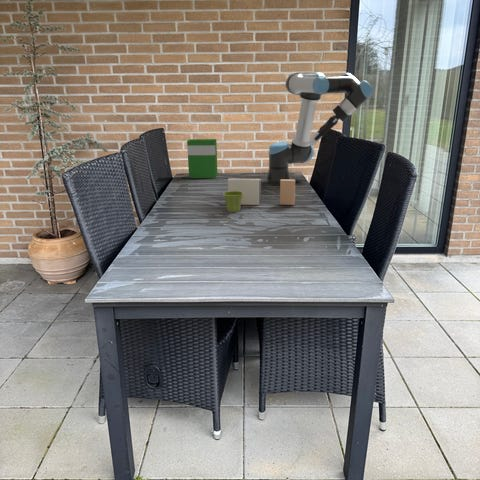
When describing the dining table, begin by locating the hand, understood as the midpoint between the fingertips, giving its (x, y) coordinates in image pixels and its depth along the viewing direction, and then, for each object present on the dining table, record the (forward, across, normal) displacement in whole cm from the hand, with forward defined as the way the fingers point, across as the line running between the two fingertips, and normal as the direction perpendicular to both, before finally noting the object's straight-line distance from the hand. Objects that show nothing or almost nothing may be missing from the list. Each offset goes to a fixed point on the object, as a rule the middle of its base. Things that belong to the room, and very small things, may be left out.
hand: (310, 142), depth 217 cm
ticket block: (+43, -6, +1) cm, 44 cm away
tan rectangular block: (+28, -6, -14) cm, 32 cm away
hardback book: (+70, +58, +28) cm, 95 cm away
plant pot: (+46, -20, +3) cm, 50 cm away
